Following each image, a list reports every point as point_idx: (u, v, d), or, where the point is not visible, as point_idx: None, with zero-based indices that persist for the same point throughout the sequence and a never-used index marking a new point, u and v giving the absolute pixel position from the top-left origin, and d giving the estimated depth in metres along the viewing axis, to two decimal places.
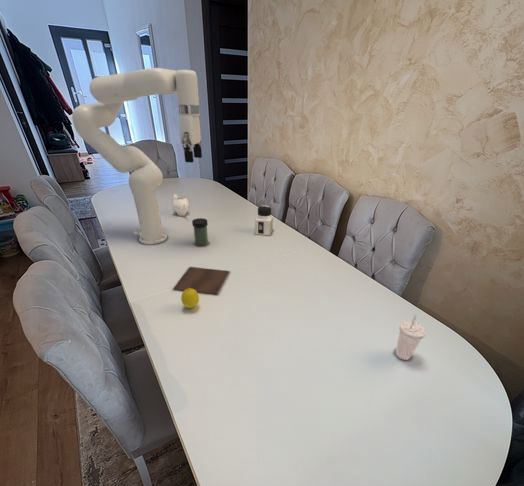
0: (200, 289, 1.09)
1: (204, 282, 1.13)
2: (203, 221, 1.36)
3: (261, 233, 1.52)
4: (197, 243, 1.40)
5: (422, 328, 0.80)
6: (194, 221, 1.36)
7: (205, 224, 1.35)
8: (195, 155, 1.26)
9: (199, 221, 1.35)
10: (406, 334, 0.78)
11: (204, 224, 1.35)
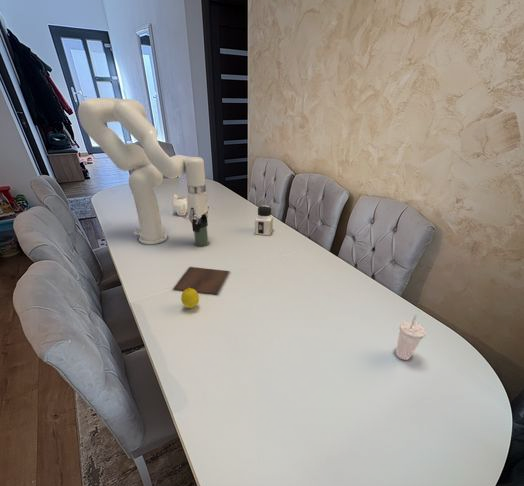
0: (200, 289, 1.09)
1: (204, 282, 1.13)
2: (203, 221, 1.36)
3: (261, 233, 1.52)
4: (197, 243, 1.40)
5: (422, 328, 0.80)
6: None
7: (205, 224, 1.35)
8: None
9: (199, 221, 1.35)
10: (406, 334, 0.78)
11: (204, 224, 1.35)
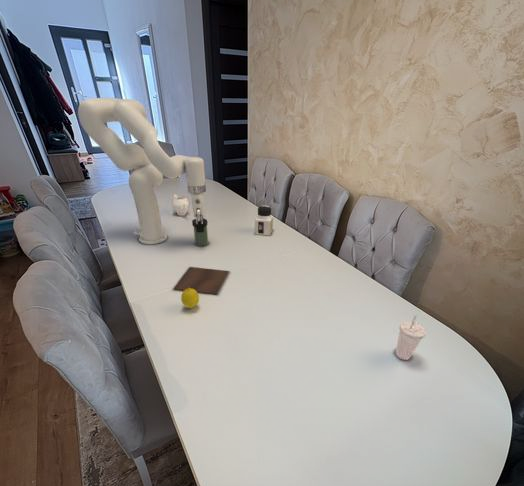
0: (200, 289, 1.09)
1: (204, 282, 1.13)
2: (195, 221, 1.36)
3: (261, 233, 1.52)
4: (197, 243, 1.40)
5: (422, 328, 0.80)
6: (203, 219, 1.38)
7: None
8: None
9: None
10: (406, 334, 0.78)
11: None
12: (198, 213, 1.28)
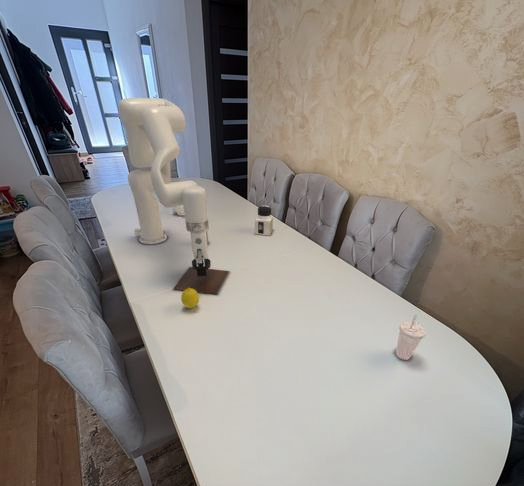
0: (200, 289, 1.09)
1: (204, 282, 1.13)
2: (195, 261, 1.10)
3: (261, 233, 1.52)
4: None
5: (422, 328, 0.80)
6: (205, 259, 1.12)
7: None
8: None
9: None
10: (406, 334, 0.78)
11: None
12: (199, 255, 1.03)
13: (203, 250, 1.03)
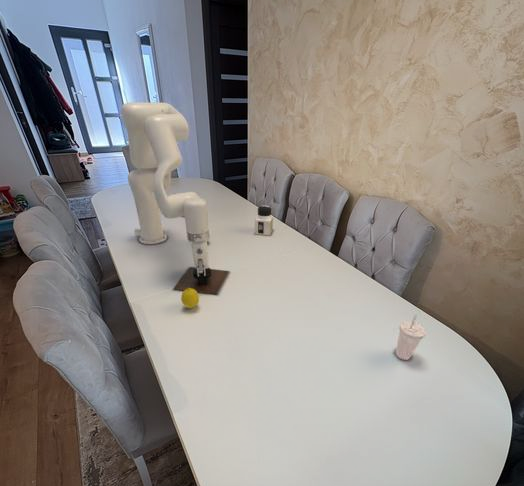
0: (200, 289, 1.09)
1: None
2: (196, 270, 1.12)
3: (261, 233, 1.52)
4: None
5: (422, 328, 0.80)
6: (206, 268, 1.14)
7: None
8: None
9: None
10: (406, 334, 0.78)
11: None
12: (200, 265, 1.05)
13: (204, 260, 1.05)
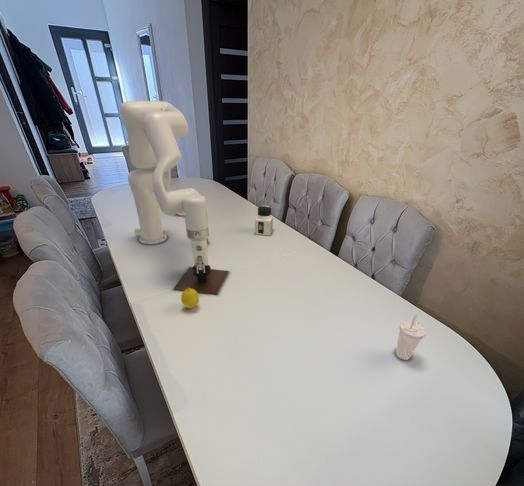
0: (200, 289, 1.09)
1: (204, 282, 1.13)
2: (196, 268, 1.12)
3: (261, 233, 1.52)
4: None
5: (422, 328, 0.80)
6: (206, 265, 1.14)
7: None
8: None
9: None
10: (406, 334, 0.78)
11: None
12: (200, 262, 1.04)
13: (203, 257, 1.05)
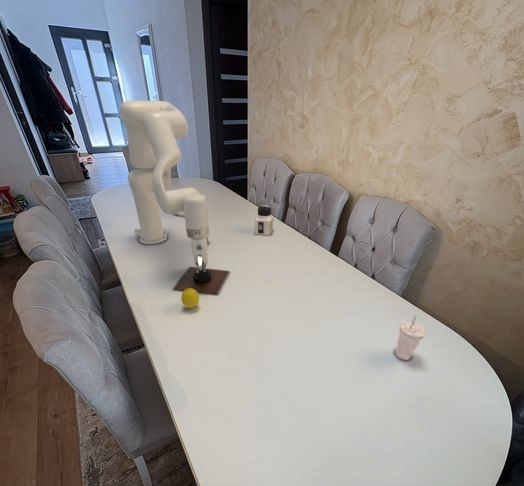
0: (200, 289, 1.09)
1: None
2: (196, 275, 1.14)
3: (261, 233, 1.52)
4: None
5: (422, 328, 0.80)
6: (206, 272, 1.16)
7: None
8: None
9: None
10: (406, 334, 0.78)
11: None
12: (199, 260, 1.03)
13: (203, 256, 1.05)
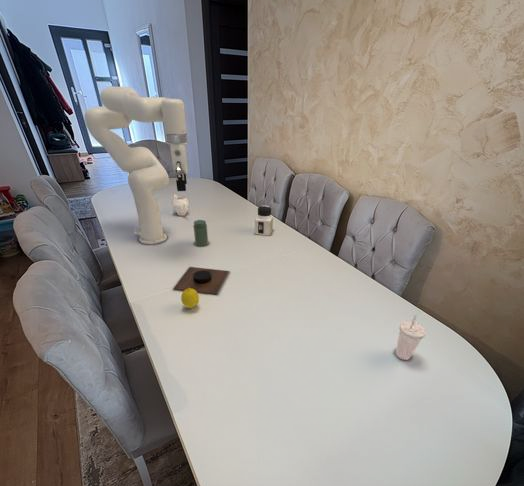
0: (200, 289, 1.09)
1: None
2: (196, 275, 1.14)
3: (261, 233, 1.52)
4: (197, 243, 1.40)
5: (422, 328, 0.80)
6: (206, 272, 1.16)
7: None
8: None
9: (201, 273, 1.15)
10: (406, 334, 0.78)
11: None
12: (178, 165, 1.09)
13: (182, 163, 1.10)
